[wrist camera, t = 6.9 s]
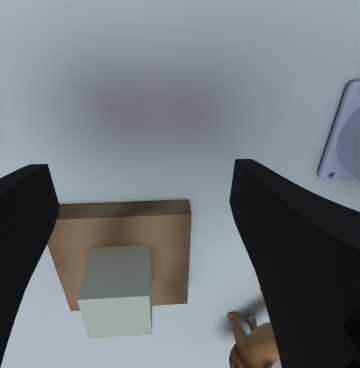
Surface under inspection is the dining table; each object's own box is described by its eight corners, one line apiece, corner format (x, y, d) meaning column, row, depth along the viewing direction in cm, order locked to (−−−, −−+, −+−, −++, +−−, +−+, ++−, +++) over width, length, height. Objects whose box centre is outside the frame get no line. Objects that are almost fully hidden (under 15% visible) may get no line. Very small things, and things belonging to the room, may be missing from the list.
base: (188, 199, 23) (191, 214, 22) (185, 287, 30) (187, 303, 28) (47, 205, 22) (38, 220, 21) (75, 293, 29) (70, 310, 27)
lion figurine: (241, 337, 37) (264, 420, 29) (209, 329, 35) (224, 416, 27) (316, 271, 30) (371, 357, 23) (281, 258, 28) (327, 346, 21)
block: (150, 245, 23) (149, 295, 19) (152, 282, 26) (151, 334, 22) (91, 247, 23) (77, 299, 19) (99, 285, 25) (88, 338, 21)
